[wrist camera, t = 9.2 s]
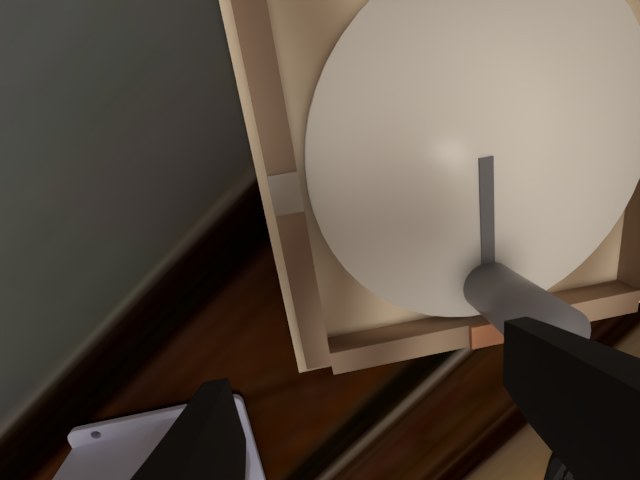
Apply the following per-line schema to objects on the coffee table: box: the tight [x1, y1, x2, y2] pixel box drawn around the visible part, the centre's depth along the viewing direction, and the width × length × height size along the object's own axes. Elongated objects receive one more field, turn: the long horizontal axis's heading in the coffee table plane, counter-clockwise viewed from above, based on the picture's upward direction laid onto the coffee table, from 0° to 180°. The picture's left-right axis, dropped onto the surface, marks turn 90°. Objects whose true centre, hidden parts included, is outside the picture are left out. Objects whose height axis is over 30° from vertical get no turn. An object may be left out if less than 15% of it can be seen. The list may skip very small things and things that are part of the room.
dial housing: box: [219, 0, 640, 375], centre depth 16 cm, size 19×19×3 cm
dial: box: [304, 0, 640, 339], centre depth 13 cm, size 15×15×5 cm
